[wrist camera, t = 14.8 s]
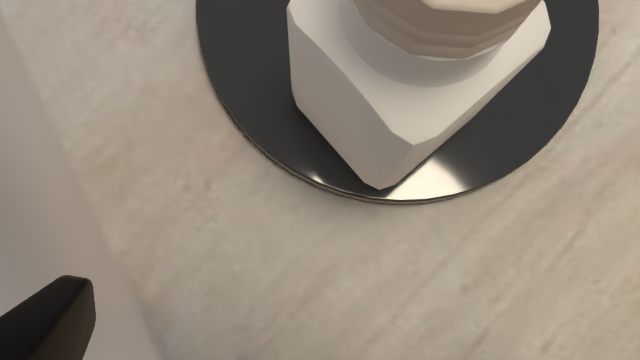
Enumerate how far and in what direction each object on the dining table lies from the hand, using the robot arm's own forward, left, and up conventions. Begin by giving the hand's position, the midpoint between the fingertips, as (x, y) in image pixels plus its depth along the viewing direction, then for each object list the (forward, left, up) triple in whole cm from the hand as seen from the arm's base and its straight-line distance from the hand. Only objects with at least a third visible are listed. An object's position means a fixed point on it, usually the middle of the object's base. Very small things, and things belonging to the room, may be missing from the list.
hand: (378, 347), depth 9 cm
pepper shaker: (+3, +5, -7) cm, 10 cm away
